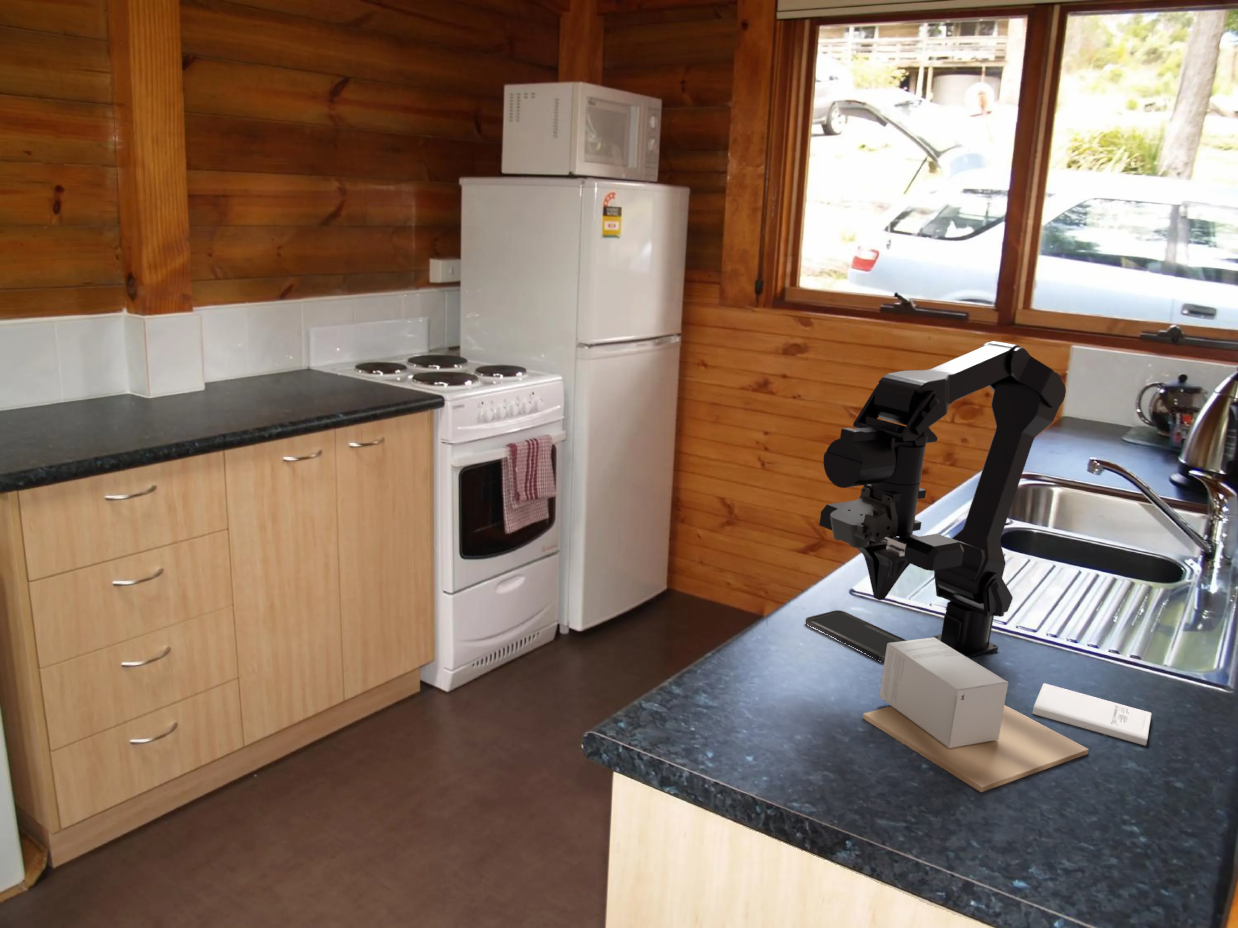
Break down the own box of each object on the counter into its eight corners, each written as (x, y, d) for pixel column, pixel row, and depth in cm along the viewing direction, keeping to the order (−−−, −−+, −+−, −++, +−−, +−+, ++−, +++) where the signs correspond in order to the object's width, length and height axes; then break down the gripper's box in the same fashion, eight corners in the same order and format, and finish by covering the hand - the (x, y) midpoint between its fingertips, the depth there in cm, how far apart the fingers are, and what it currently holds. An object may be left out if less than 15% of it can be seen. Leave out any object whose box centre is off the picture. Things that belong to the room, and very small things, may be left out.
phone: (885, 659, 134) (802, 618, 145) (884, 666, 134) (801, 625, 145) (923, 647, 138) (840, 608, 150) (922, 655, 138) (839, 615, 150)
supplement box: (877, 698, 123) (947, 750, 111) (886, 641, 121) (957, 688, 110) (926, 691, 125) (999, 741, 114) (936, 635, 124) (1010, 681, 112)
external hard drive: (1041, 693, 130) (1149, 722, 124) (1031, 717, 123) (1145, 750, 117) (1043, 681, 130) (1152, 710, 124) (1033, 705, 123) (1147, 737, 117)
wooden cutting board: (966, 689, 128) (967, 684, 128) (1087, 753, 114) (1088, 749, 114) (862, 718, 119) (863, 713, 118) (981, 792, 105) (982, 786, 105)
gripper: (794, 465, 127) (780, 582, 131) (909, 506, 112) (890, 638, 115) (858, 458, 133) (843, 571, 137) (975, 497, 118) (955, 622, 121)
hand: (879, 598), depth 127 cm, fingers closed
